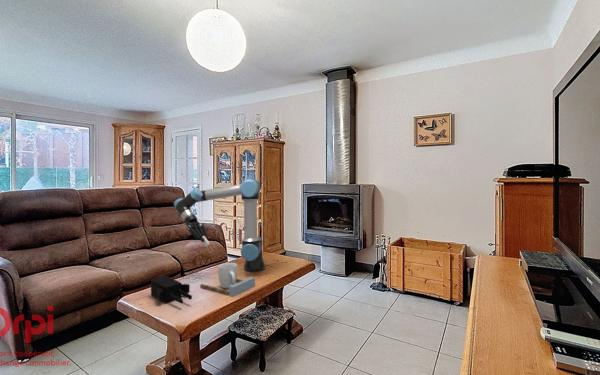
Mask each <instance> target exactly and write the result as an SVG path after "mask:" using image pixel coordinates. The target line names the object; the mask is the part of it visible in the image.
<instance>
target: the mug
mask: <svg viewBox="0 0 600 375" xmlns="http://www.w3.org/2000/svg"><path fill="white" fill-rule="evenodd" d="M217 267H218V270H217V271H218V280H219V283H220V286H221V287H222V289H224V290H229V286H231V285H234V284H236V280H237V279H238V263H235V262H225V263H221V264H219V265H218V266H217Z"/></svg>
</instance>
